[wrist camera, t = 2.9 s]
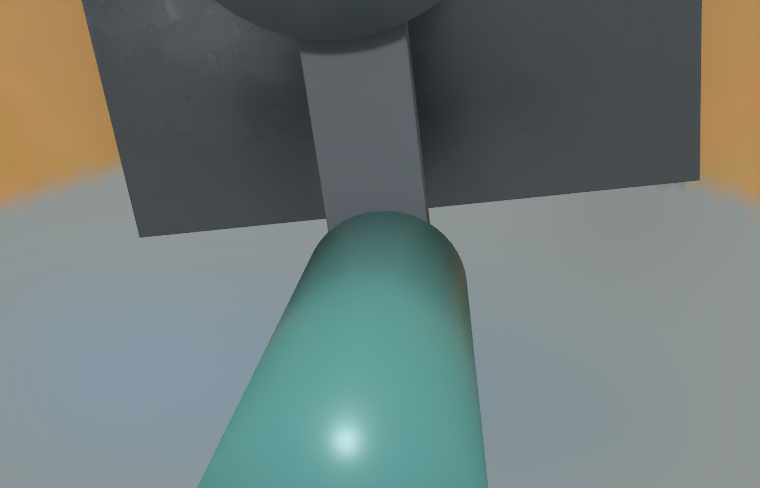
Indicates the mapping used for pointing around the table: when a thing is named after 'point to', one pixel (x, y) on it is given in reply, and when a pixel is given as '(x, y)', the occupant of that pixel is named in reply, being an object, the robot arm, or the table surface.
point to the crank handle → (362, 286)
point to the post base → (433, 97)
